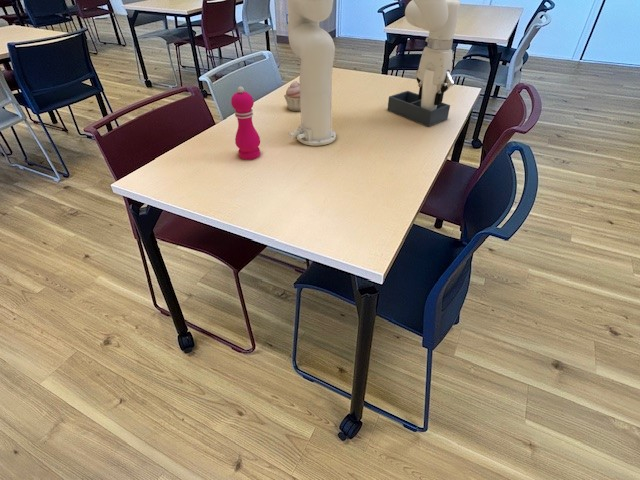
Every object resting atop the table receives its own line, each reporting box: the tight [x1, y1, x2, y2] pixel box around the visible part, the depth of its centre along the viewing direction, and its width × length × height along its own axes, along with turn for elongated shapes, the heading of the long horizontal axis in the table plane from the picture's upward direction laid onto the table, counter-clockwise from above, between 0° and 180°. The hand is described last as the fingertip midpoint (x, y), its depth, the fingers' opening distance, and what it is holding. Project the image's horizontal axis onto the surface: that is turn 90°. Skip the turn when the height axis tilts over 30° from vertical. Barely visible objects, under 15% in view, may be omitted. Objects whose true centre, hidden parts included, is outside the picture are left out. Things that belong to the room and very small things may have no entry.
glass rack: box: [387, 90, 451, 127], centre depth 135 cm, size 10×19×5 cm, turn 38°
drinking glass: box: [421, 69, 442, 111], centre depth 128 cm, size 7×7×15 cm
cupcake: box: [283, 80, 301, 112], centre depth 139 cm, size 9×9×10 cm
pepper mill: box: [230, 86, 261, 161], centre depth 107 cm, size 7×7×20 cm
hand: (429, 101), depth 130 cm, fingers closed on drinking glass, 6 cm apart
